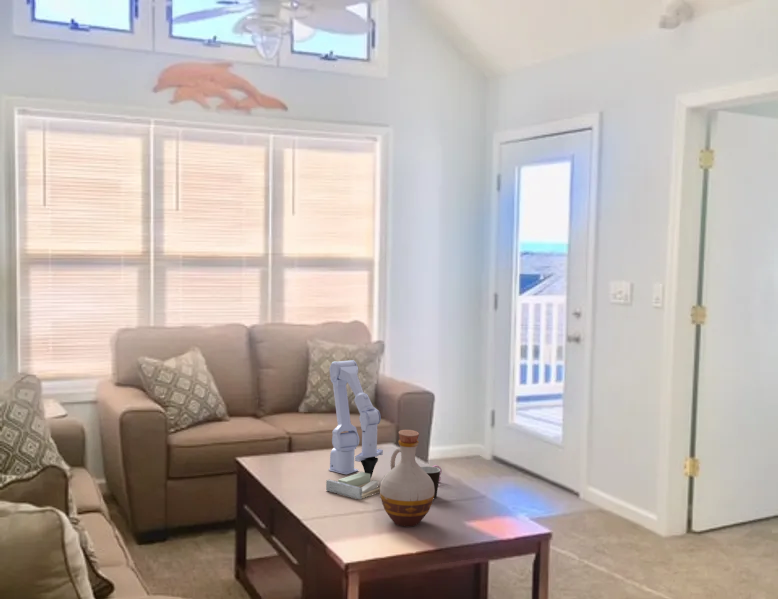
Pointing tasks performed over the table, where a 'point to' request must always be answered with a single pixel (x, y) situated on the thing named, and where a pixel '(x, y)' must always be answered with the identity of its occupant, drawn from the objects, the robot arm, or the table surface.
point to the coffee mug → (433, 476)
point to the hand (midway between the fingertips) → (368, 476)
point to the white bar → (369, 486)
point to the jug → (407, 485)
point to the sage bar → (356, 479)
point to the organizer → (348, 489)
